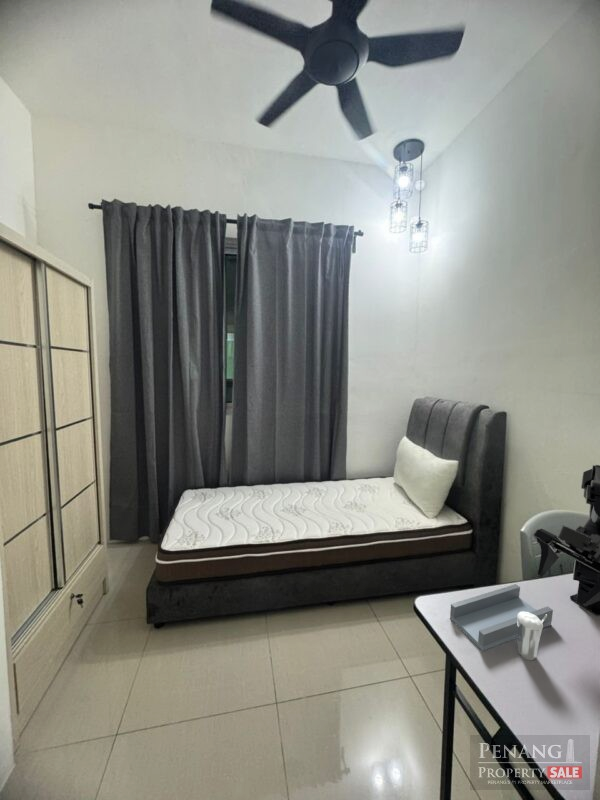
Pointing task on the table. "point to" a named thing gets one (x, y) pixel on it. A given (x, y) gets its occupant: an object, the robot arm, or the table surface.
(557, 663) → the table surface
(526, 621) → the milkshake
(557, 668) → the table surface
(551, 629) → the table surface
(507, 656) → the table surface
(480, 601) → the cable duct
